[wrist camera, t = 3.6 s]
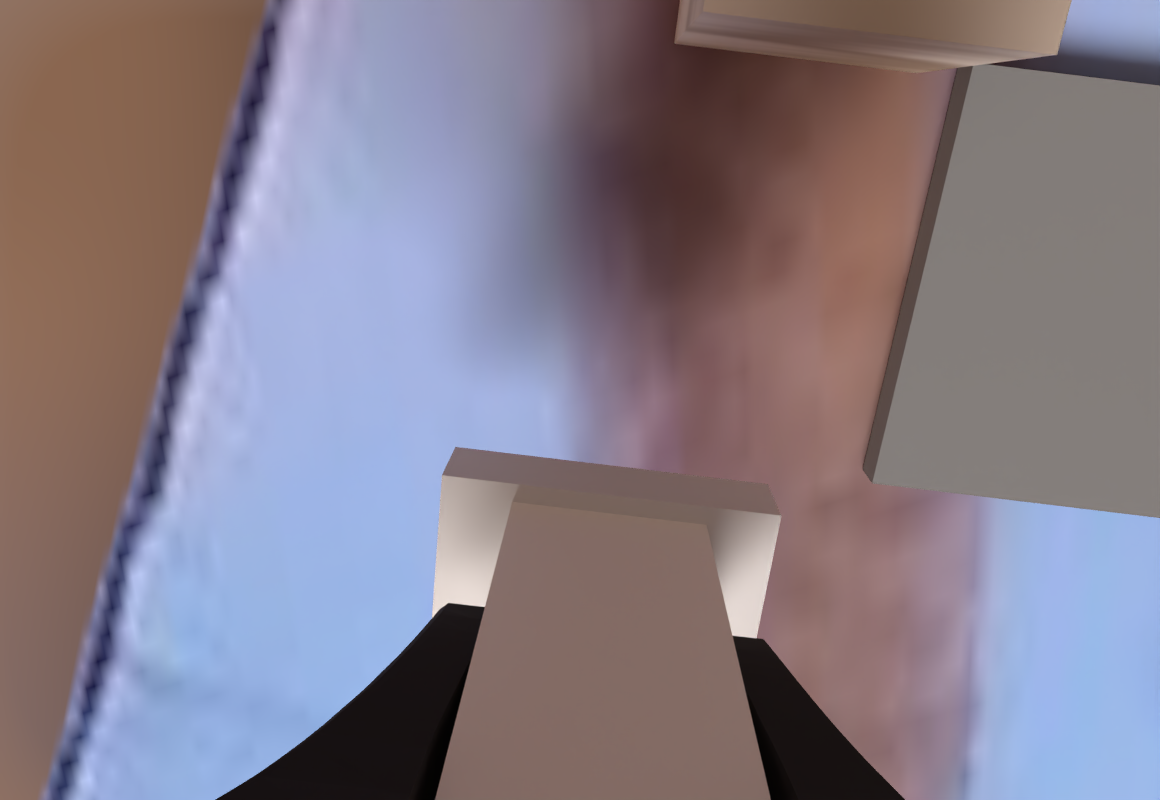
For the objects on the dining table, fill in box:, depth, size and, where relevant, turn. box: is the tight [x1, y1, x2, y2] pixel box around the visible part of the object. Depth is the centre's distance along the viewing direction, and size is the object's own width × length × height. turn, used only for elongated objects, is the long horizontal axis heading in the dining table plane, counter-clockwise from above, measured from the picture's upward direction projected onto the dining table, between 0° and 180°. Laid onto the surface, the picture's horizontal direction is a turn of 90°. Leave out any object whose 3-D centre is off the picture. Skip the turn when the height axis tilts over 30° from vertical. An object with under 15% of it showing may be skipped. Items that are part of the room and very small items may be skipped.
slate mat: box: [863, 64, 1160, 518], centre depth 19 cm, size 8×9×1 cm
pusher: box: [432, 447, 781, 800], centre depth 11 cm, size 5×4×9 cm
